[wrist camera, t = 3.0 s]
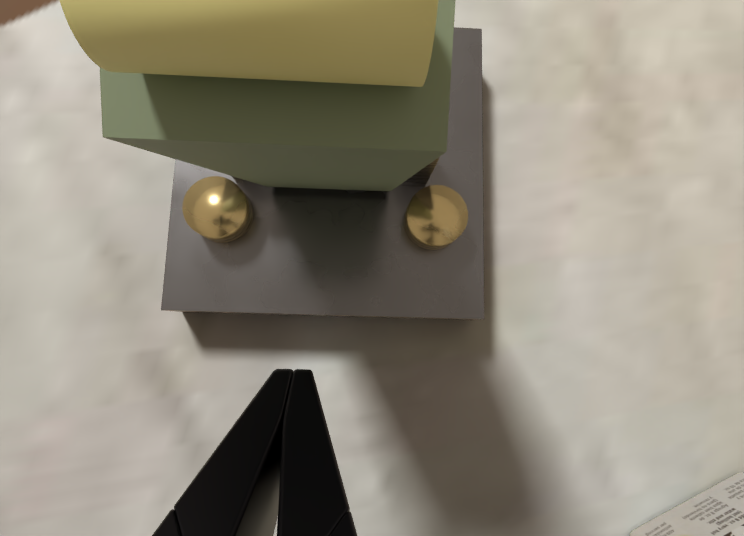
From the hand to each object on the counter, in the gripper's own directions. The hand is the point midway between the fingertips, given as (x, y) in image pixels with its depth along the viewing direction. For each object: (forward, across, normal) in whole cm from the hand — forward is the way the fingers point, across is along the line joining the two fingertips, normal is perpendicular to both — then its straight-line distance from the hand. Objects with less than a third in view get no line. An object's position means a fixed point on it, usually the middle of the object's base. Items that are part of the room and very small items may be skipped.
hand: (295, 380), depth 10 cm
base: (+12, 0, +1) cm, 12 cm away
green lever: (+10, 0, -2) cm, 10 cm away
